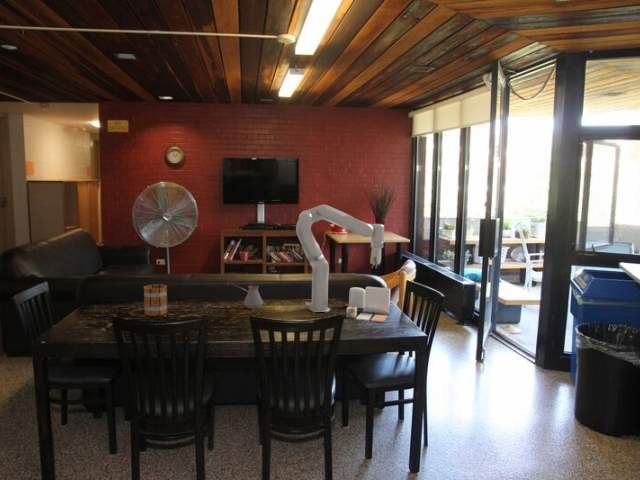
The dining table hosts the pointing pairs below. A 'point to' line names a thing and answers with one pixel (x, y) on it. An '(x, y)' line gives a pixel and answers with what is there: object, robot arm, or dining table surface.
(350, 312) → the birch block
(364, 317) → the sage pad
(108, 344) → the dining table surface
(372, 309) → the wall unit
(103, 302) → the dining table surface
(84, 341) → the dining table surface
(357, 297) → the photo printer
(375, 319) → the terracotta pad
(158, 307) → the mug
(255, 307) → the coffee pot
